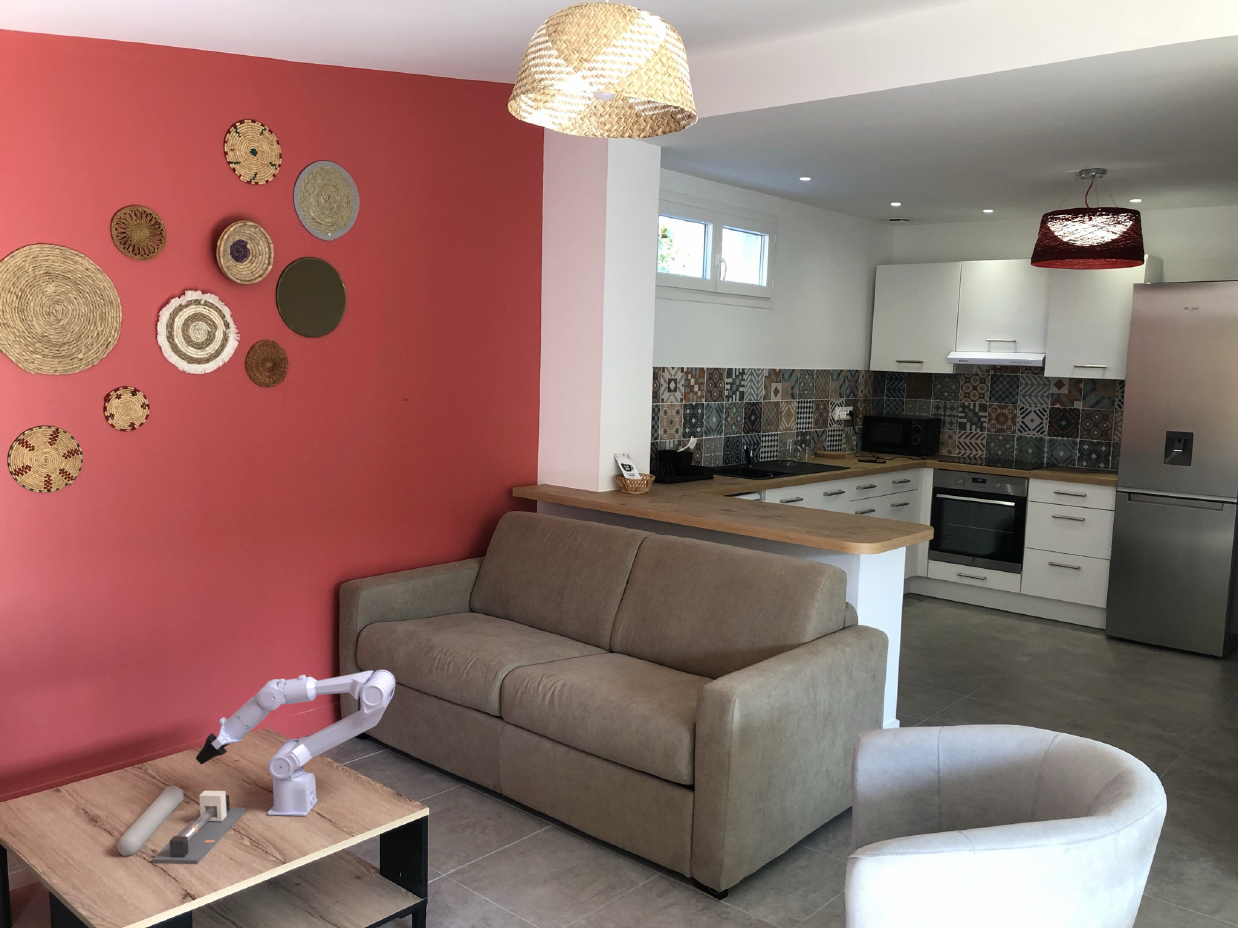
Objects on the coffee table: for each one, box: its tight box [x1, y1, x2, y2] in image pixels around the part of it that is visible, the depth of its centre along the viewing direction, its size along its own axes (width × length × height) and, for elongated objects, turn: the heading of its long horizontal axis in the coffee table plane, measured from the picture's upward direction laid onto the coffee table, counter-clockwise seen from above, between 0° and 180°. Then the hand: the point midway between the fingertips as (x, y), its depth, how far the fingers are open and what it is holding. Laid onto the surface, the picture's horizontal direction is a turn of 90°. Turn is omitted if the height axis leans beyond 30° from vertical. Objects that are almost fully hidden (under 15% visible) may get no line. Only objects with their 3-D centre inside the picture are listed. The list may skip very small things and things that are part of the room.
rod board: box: [152, 794, 247, 865], centre depth 222 cm, size 10×24×5 cm, turn 177°
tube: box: [117, 785, 184, 857], centre depth 225 cm, size 5×5×25 cm
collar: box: [199, 790, 227, 821], centre depth 228 cm, size 5×2×6 cm, turn 87°
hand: (206, 754), depth 234 cm, fingers open, 7 cm apart
